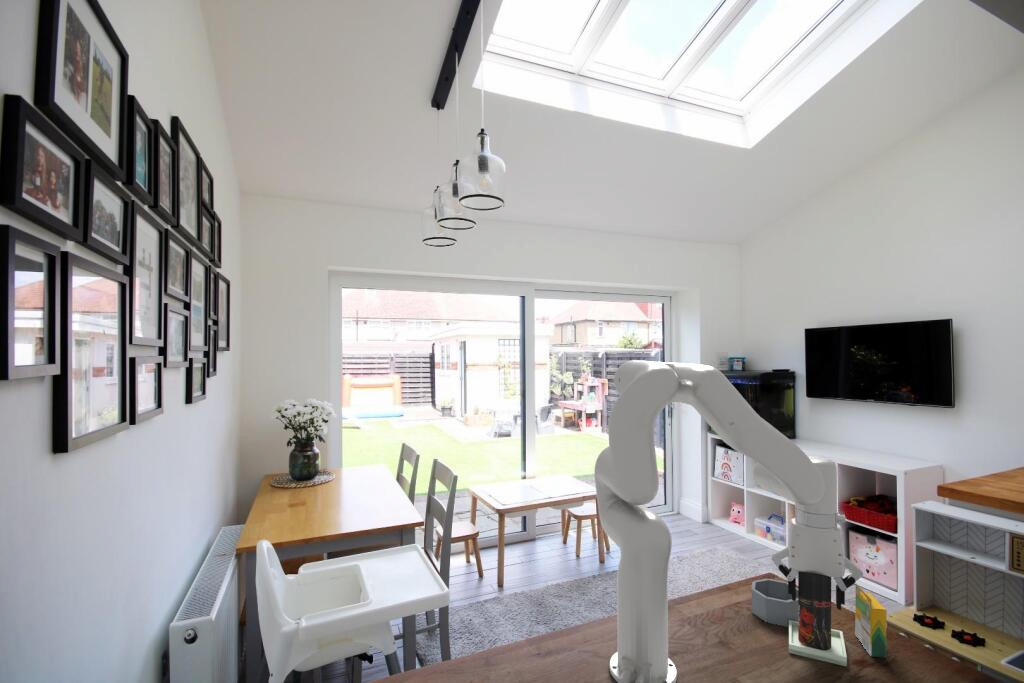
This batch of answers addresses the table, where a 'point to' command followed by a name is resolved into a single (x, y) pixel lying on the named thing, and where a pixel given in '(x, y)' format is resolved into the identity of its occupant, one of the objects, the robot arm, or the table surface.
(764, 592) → the grey octagonal container
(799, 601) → the deodorant
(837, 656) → the tray
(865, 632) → the crayon box
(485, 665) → the table surface
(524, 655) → the table surface
